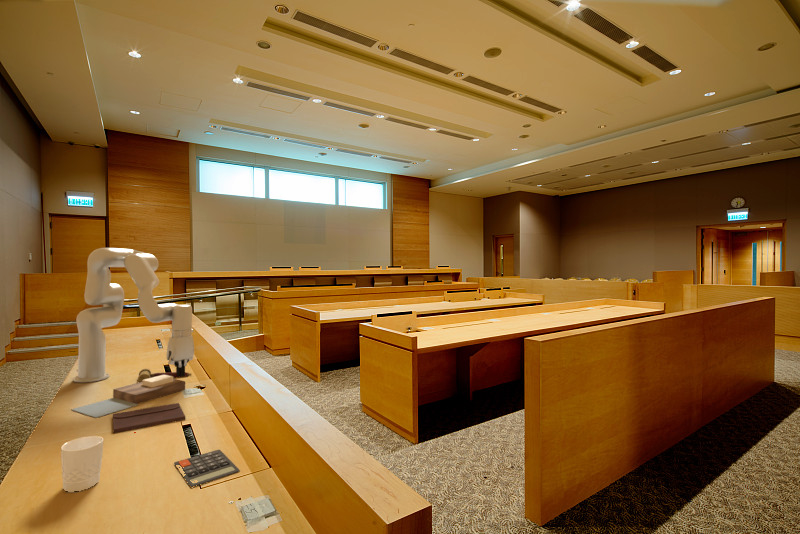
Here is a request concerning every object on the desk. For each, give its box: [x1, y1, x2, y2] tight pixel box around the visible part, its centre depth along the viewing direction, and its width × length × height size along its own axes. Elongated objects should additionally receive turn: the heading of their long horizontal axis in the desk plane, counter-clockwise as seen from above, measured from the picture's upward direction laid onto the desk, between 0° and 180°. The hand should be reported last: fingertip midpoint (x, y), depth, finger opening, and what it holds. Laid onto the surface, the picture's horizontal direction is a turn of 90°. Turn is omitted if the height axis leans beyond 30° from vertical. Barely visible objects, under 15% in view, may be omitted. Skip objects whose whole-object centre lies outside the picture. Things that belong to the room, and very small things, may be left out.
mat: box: [71, 397, 139, 419], centre depth 142 cm, size 15×14×1 cm
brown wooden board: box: [112, 378, 186, 405], centre depth 158 cm, size 14×20×4 cm
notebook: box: [112, 402, 186, 434], centre depth 133 cm, size 15×20×2 cm
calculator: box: [174, 449, 241, 488], centre depth 103 cm, size 12×1×15 cm
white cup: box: [60, 435, 104, 493], centre depth 93 cm, size 8×8×10 cm
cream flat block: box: [142, 375, 174, 387], centre depth 160 cm, size 6×9×2 cm, turn 155°
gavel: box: [137, 368, 192, 383], centre depth 179 cm, size 21×5×10 cm
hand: (180, 375), depth 169 cm, fingers closed
